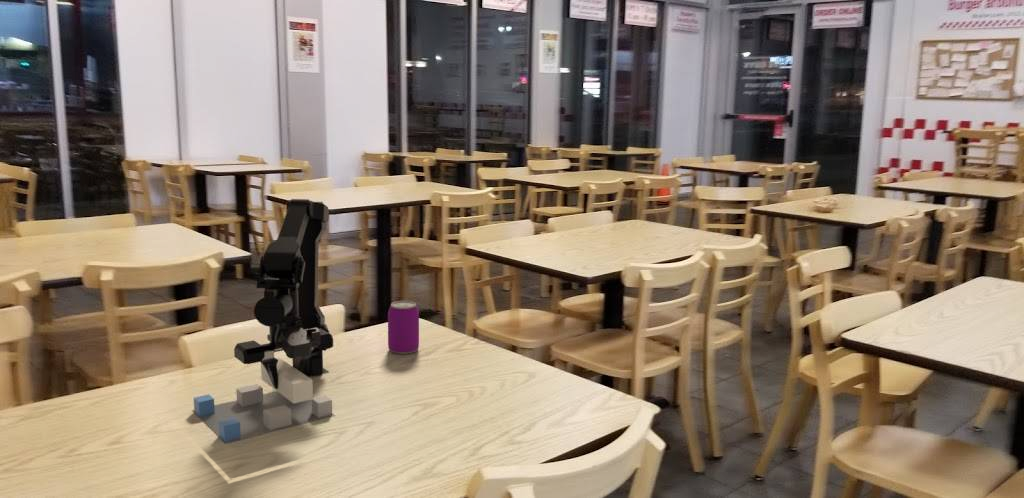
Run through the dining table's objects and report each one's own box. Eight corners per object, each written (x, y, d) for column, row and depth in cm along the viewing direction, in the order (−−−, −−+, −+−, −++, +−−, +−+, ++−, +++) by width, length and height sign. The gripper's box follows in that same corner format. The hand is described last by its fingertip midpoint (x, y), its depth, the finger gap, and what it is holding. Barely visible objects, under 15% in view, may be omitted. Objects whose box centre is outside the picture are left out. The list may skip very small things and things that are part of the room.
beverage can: (421, 346, 209) (421, 300, 206) (415, 356, 201) (415, 308, 199) (392, 344, 209) (391, 299, 207) (384, 354, 202) (384, 307, 199)
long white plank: (261, 379, 171) (260, 361, 170) (279, 375, 173) (279, 357, 172) (293, 403, 158) (293, 384, 158) (312, 399, 161) (312, 379, 160)
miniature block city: (191, 413, 164) (190, 396, 163) (295, 389, 178) (294, 373, 177) (225, 446, 150) (224, 428, 149) (335, 418, 163) (335, 401, 162)
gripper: (253, 329, 151) (256, 409, 154) (345, 313, 162) (346, 388, 165) (231, 315, 159) (235, 391, 162) (320, 301, 171) (322, 372, 174)
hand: (286, 386), depth 166 cm, fingers closed on long white plank, 4 cm apart
